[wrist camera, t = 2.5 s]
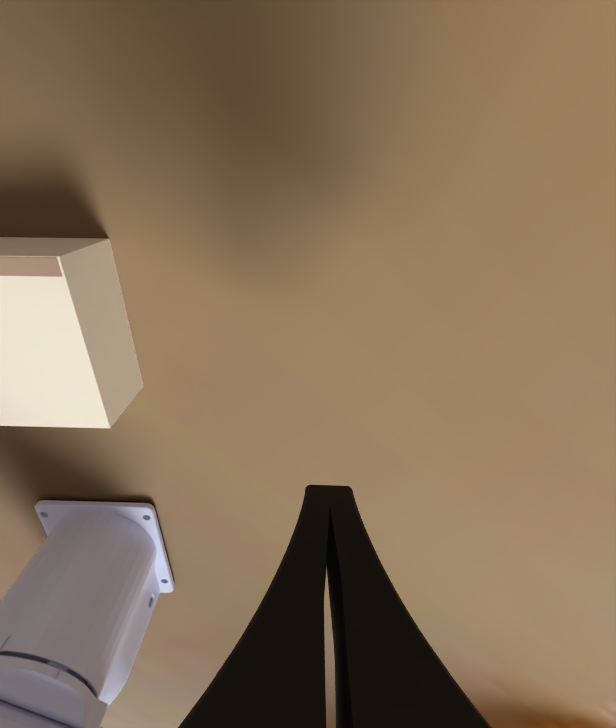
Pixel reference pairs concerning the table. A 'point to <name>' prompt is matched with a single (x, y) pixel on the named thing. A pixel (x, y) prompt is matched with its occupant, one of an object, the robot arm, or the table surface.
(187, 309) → the table surface
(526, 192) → the table surface
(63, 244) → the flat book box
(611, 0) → the table surface
